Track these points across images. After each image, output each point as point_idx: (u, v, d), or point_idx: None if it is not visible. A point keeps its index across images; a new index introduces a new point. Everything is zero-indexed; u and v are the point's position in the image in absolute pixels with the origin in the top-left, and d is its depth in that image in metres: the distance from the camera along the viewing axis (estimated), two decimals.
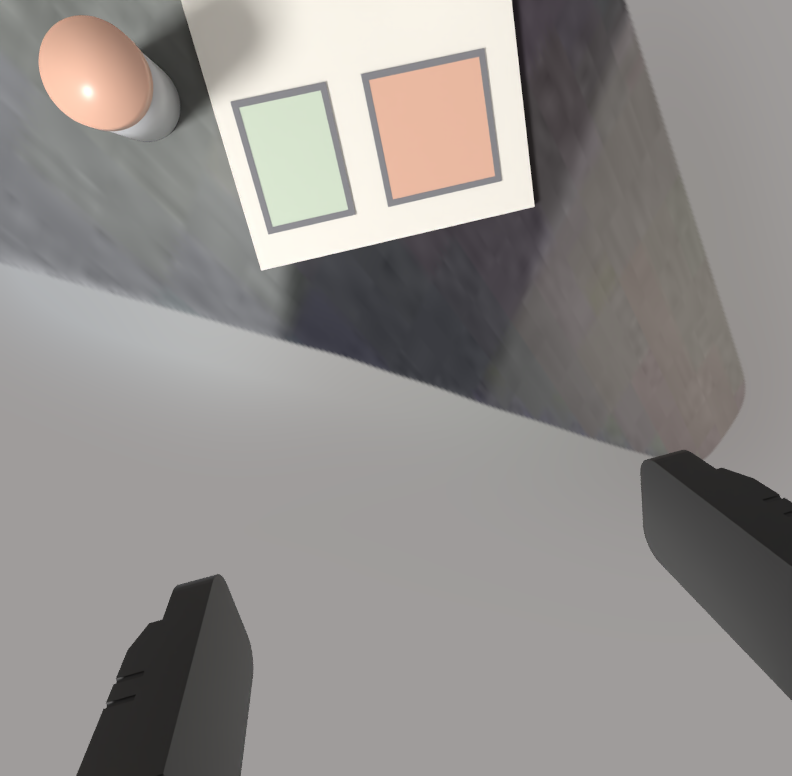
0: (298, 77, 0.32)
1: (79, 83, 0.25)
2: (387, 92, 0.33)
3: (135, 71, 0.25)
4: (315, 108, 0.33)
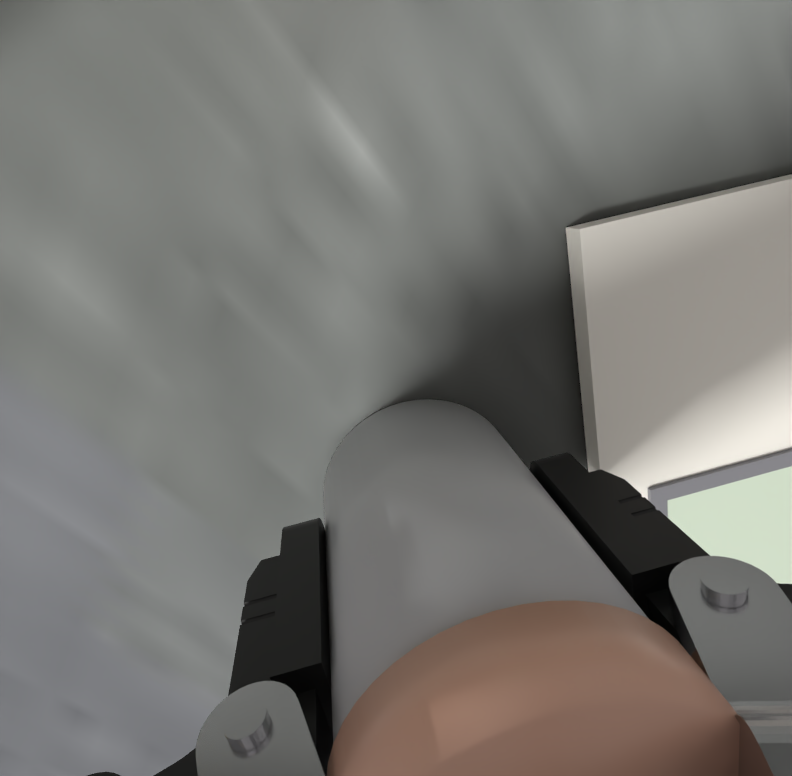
0: None
1: None
2: None
3: None
4: None
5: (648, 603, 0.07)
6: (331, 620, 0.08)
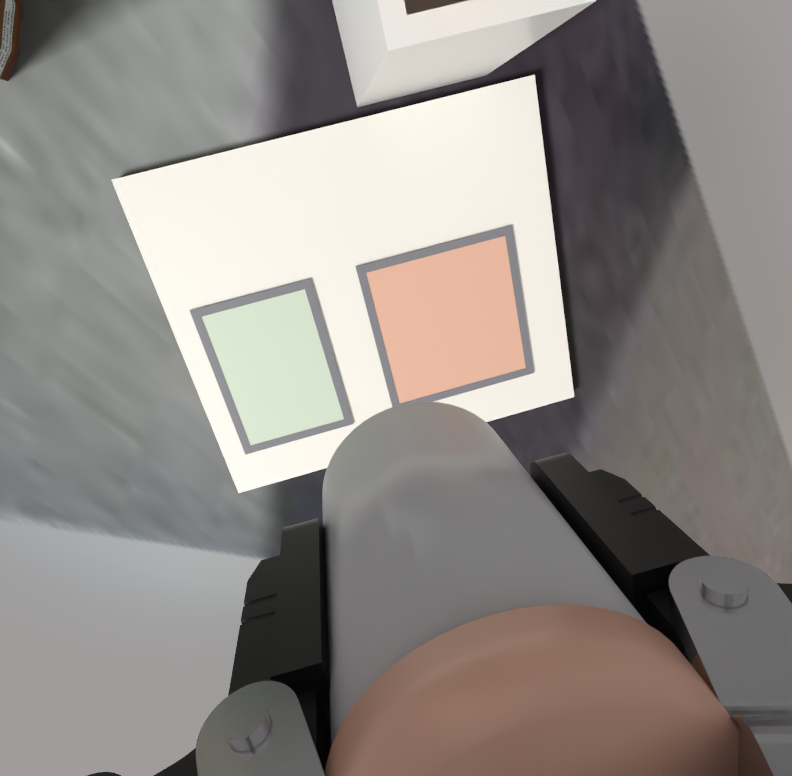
0: (275, 275, 0.25)
1: None
2: (389, 284, 0.26)
3: None
4: (299, 310, 0.26)
5: (648, 603, 0.07)
6: (329, 623, 0.08)
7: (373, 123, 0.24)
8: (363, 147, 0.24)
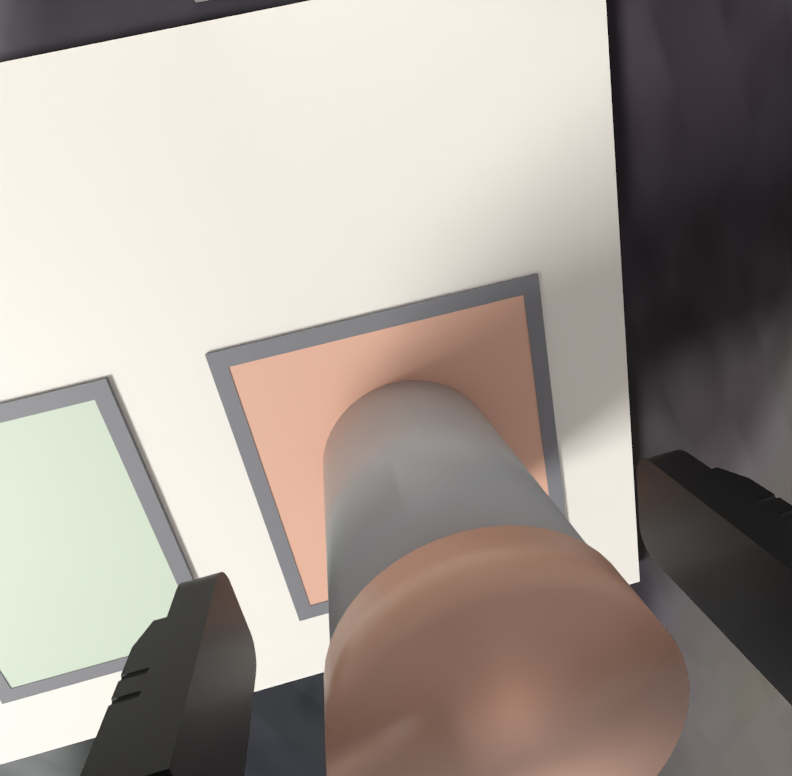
0: (27, 371, 0.12)
1: (459, 775, 0.07)
2: (282, 389, 0.13)
3: (656, 713, 0.07)
4: (87, 442, 0.12)
5: None
6: (329, 560, 0.09)
7: (228, 38, 0.10)
8: (207, 94, 0.10)
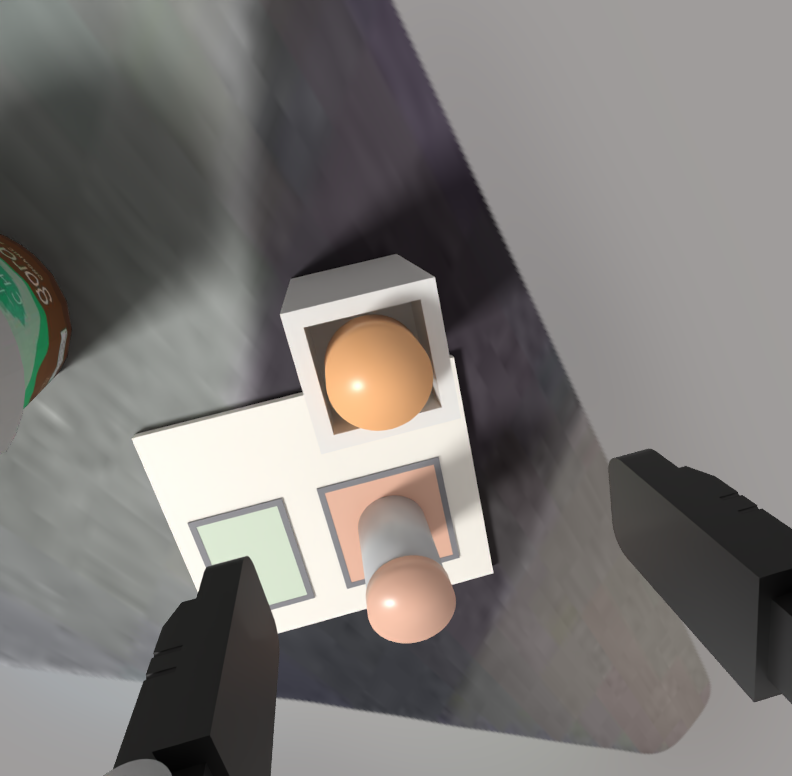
0: (254, 496, 0.33)
1: (399, 615, 0.28)
2: (343, 499, 0.34)
3: (447, 601, 0.28)
4: (272, 520, 0.33)
5: (773, 608, 0.07)
6: (364, 564, 0.30)
7: None
8: None
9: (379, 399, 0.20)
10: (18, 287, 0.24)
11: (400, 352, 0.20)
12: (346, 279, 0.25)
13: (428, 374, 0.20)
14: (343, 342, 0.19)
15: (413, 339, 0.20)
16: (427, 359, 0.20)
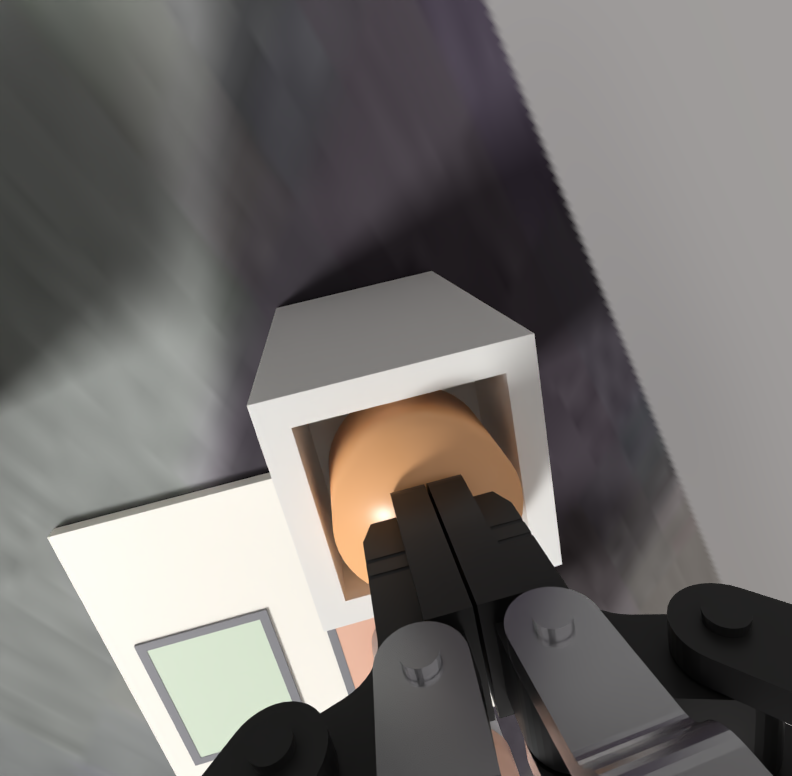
0: (228, 608, 0.23)
1: None
2: None
3: None
4: (253, 638, 0.24)
5: (496, 632, 0.07)
6: None
7: None
8: None
9: None
10: None
11: (468, 470, 0.11)
12: (363, 319, 0.15)
13: (515, 502, 0.11)
14: (365, 454, 0.10)
15: (492, 445, 0.11)
16: (515, 478, 0.11)
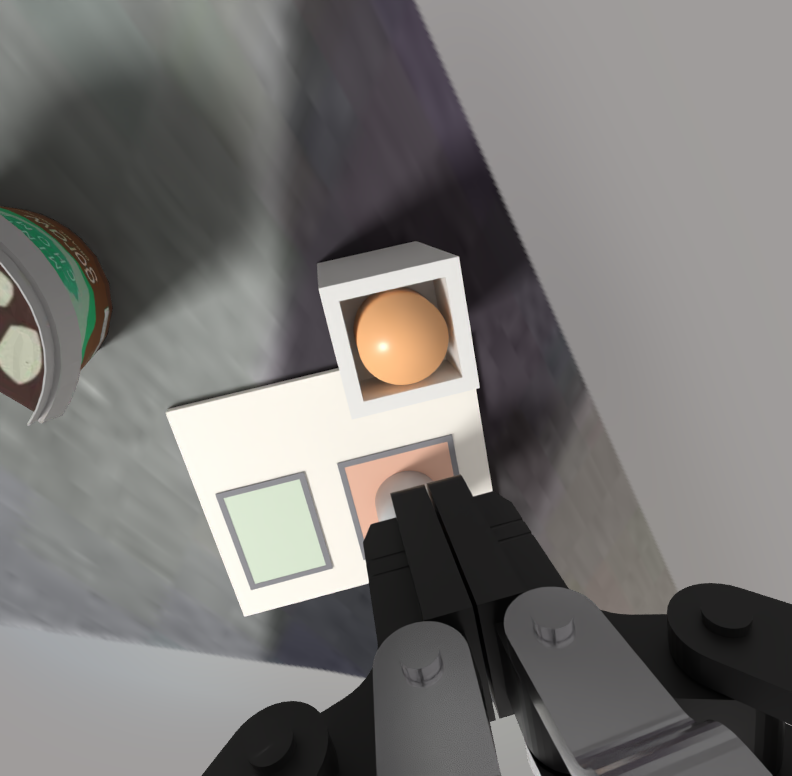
0: (278, 470, 0.35)
1: None
2: (361, 474, 0.36)
3: None
4: (295, 492, 0.35)
5: (496, 633, 0.07)
6: None
7: None
8: None
9: (402, 356, 0.23)
10: (71, 265, 0.26)
11: (421, 317, 0.23)
12: (373, 261, 0.27)
13: (444, 336, 0.23)
14: (373, 307, 0.23)
15: (432, 305, 0.23)
16: (444, 323, 0.23)
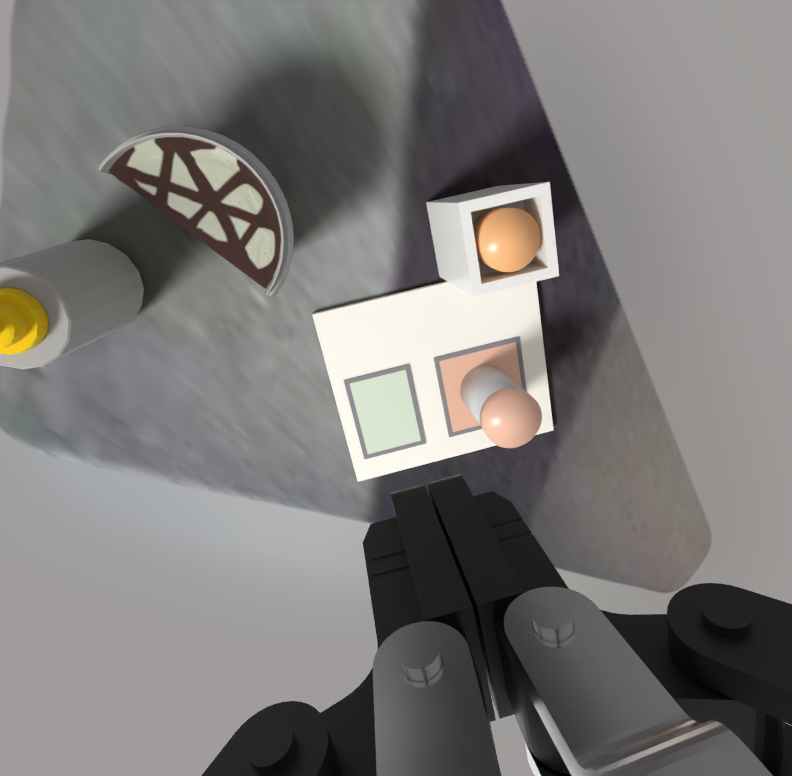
0: (390, 362, 0.46)
1: (504, 426, 0.41)
2: (451, 367, 0.47)
3: (536, 417, 0.41)
4: (401, 380, 0.47)
5: (496, 632, 0.07)
6: (474, 401, 0.44)
7: (448, 286, 0.45)
8: (442, 297, 0.45)
9: (509, 252, 0.35)
10: None
11: (523, 223, 0.34)
12: (479, 193, 0.38)
13: (537, 237, 0.35)
14: (492, 216, 0.34)
15: (530, 216, 0.34)
16: (537, 228, 0.35)
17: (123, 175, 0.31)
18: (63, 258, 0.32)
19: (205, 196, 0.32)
